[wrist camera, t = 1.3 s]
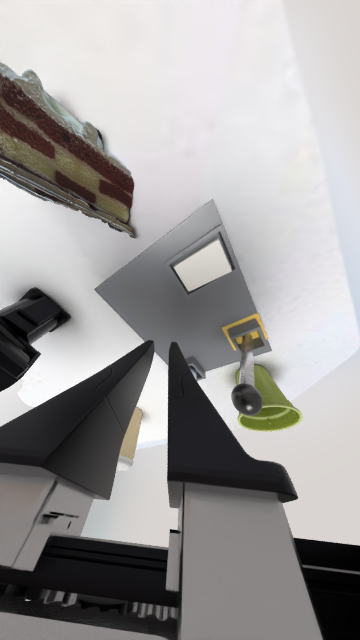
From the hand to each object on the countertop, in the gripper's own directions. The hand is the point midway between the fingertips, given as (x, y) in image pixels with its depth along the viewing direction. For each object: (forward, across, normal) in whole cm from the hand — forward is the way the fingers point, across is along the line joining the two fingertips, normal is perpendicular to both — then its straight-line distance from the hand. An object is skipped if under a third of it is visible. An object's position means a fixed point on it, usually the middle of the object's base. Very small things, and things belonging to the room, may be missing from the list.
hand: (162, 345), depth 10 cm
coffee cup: (+12, -14, -40) cm, 44 cm away
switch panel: (+12, +2, -4) cm, 13 cm away
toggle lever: (+8, +10, -6) cm, 15 cm away
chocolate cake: (+12, -9, +11) cm, 19 cm away
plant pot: (+12, +16, -18) cm, 27 cm away
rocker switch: (+8, +3, +4) cm, 9 cm away
